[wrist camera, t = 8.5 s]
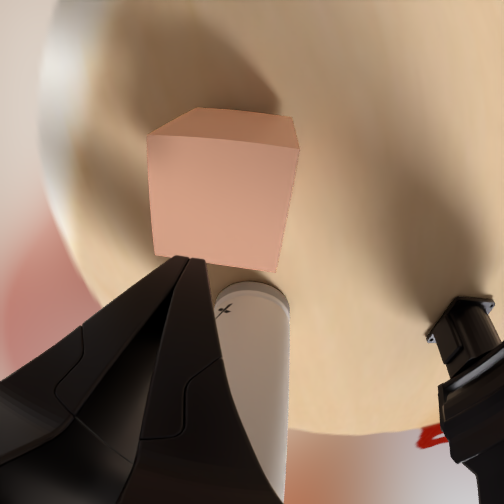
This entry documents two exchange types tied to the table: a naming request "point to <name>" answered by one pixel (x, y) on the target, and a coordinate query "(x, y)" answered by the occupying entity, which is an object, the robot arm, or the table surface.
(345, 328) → the table surface
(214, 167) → the pink foam cube
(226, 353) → the travel mug
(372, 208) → the table surface
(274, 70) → the table surface
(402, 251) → the table surface
